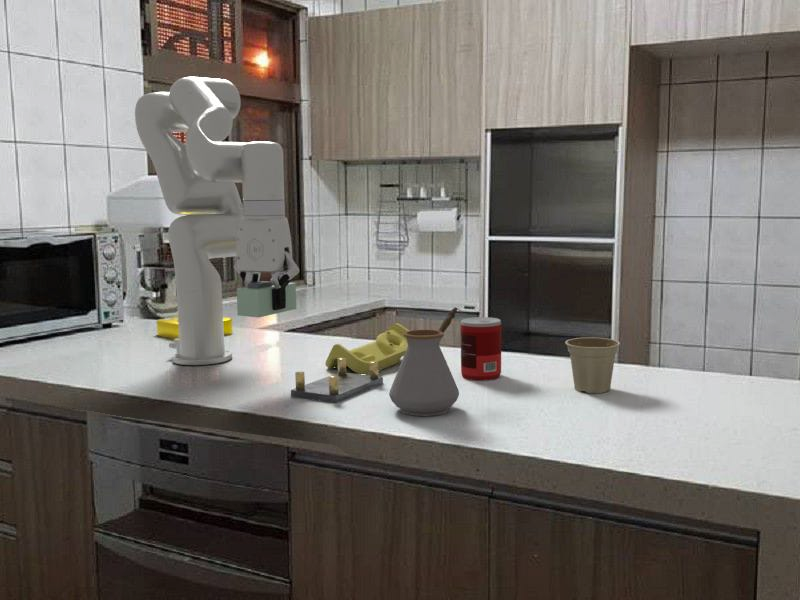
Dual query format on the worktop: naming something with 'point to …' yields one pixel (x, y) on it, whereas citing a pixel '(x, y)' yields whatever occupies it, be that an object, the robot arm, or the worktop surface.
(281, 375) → the worktop surface
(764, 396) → the worktop surface
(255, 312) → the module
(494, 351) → the canned food
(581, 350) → the flower pot
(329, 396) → the chassis
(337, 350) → the plastic component
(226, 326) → the element tile
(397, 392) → the coffee pot
